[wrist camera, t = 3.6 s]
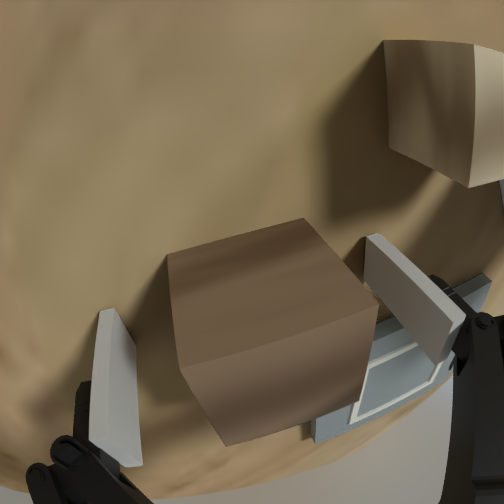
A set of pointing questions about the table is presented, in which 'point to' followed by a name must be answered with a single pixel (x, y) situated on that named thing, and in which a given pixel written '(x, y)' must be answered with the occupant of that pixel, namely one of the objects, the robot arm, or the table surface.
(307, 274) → the walnut cube
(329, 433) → the board
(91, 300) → the table surface
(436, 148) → the oak cube
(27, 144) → the table surface
